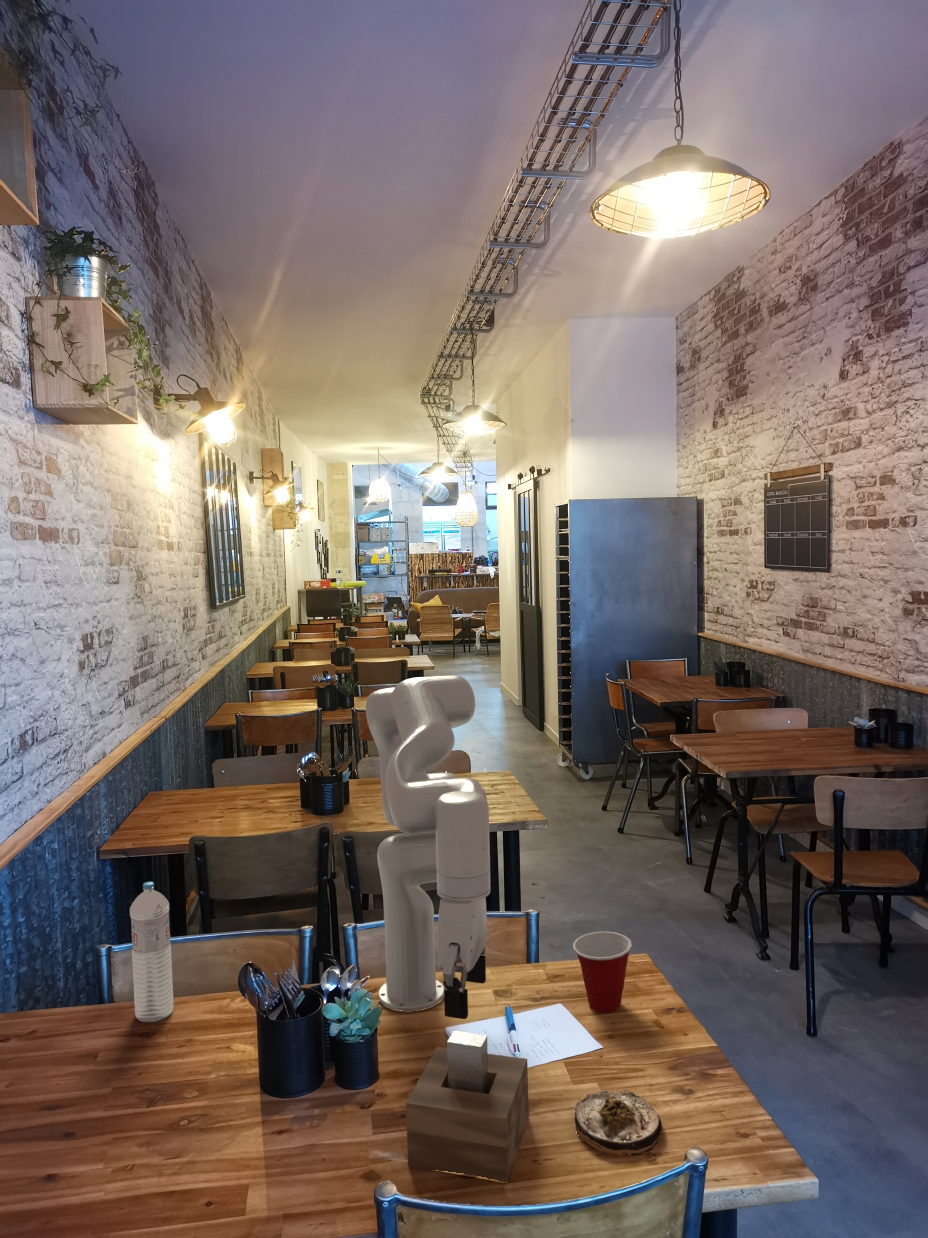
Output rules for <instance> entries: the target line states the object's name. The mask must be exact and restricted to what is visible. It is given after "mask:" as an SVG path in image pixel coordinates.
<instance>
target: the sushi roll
mask: <svg viewBox="0 0 928 1238" xmlns="http://www.w3.org/2000/svg"><path fill="white" fill-rule="evenodd" d="M578 1100H579V1101H577V1102H576V1107H575V1109H574V1110H575V1112H574V1114H573V1115H574V1124H575V1128H576V1129H575V1132H576V1131H577V1135H579V1137H580V1138H581V1139H580V1140H582V1139H583V1141H584V1142H585V1141H586V1142H587V1143H586V1142H585V1143H586V1144H588V1145H589V1146H591V1147H592V1148H593V1149H594V1150H597V1149H598V1151H600V1150H602V1151H601V1152H603V1151H604V1153H606V1154H609V1153H611V1154H610V1155H614V1154H617V1155H616V1156H623V1155H622V1154H625V1153H626V1154H630V1155H632V1156H631V1157H634V1156H633V1155H636V1156H640V1155H643V1153H647V1152H650V1151H652V1149H653V1148H654V1146H656V1144H657V1143H658V1142H659V1140H660V1138H661V1137H660V1136H661V1134H662V1129H663V1123H662V1120H661V1118H660V1115H658V1113H657V1112H656V1110H655V1109H654V1107H652V1106H651V1105H650V1104H649V1103H648V1102H647V1101H646V1100H645V1099H644V1098H643V1097H642V1096H640V1095H636V1094H635V1093H634V1092H633V1091H628V1090H626V1089H625V1090H623V1091H619V1092H618V1090H617V1089H616V1092H614V1091H612V1092H611V1091H608V1090H607V1091H606V1090H603V1091H597V1092H592V1093H587V1094H586V1097H584V1098H583V1099H578ZM577 1135H576V1136H577ZM579 1137H578V1138H579ZM626 1154H625V1155H626ZM636 1156H635V1157H636Z"/></svg>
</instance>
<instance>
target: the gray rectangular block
mask: <svg viewBox="0 0 928 1238" xmlns="http://www.w3.org/2000/svg"><path fill="white" fill-rule="evenodd" d="M446 1048H447V1054H448V1088H450V1089H457V1090H464V1091H471V1092H477V1093H484V1094H489V1086H488V1054H489V1053H488V1052H489V1051H488V1050H489V1049H488V1035H486V1034H480V1033H479V1034H477V1033H472V1032H465V1031H461V1030H460V1031H459V1030H453V1031H452V1033H451V1035H450V1036H449V1038H448V1039H447V1042H446Z"/></svg>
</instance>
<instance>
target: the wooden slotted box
mask: <svg viewBox="0 0 928 1238" xmlns="http://www.w3.org/2000/svg"><path fill="white" fill-rule="evenodd" d="M528 1065H529V1064H528V1058H522V1057H517V1056H509V1055H500V1054H495V1053H488V1086H489V1094H484V1093H477V1092H471V1091H464V1090H457V1089H450V1088H448V1054H447V1047H442V1046H437V1047H436V1048H435V1050H434V1051H433V1054H432V1055H431V1058H430V1059H429V1060H428V1063H427V1064H426V1067H425V1068H424V1070H423V1072H422V1073H421V1075H420V1077H419V1079H418V1081H417V1082H416V1084H415V1086H414V1088H413V1089H412V1092H410V1095H409V1097H408V1099H407V1101H406V1102H405V1112H406V1115H405V1116H406V1143H407V1144H406V1147H407V1167H410V1168H414V1169H415V1168H416V1169H420V1170H427V1171H431V1170H439V1171H448V1172H456V1173H464V1174H468V1175H476V1176H481V1177H486V1178H488V1179H495V1180H498V1181H501V1182H505V1183H506V1182H508V1180H509V1181H510V1179H509V1177H510V1178H511V1175H512V1172H513V1169H512V1168H514V1165H515V1163H516V1160H517V1157H518V1152H519V1150H520V1146H521V1143H522V1140H523V1138H524V1135H525V1131H526V1127H527V1125H528V1123H529V1122H528V1121H529V1119H530V1118H529V1117H530V1115H529V1111H530V1110H529V1109H530V1108H529V1106H530V1105H529V1076H528V1075H529V1072H528V1069H529V1067H528ZM514 1162H515V1163H514ZM511 1171H512V1172H511ZM510 1174H511V1175H510ZM508 1183H509V1182H508Z"/></svg>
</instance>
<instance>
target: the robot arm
mask: <svg viewBox="0 0 928 1238" xmlns="http://www.w3.org/2000/svg"><path fill="white" fill-rule="evenodd" d="M475 711H476V698H475V692H474V690H473V687H472V686H471V684H470V682H469V681H468V680H467V679H466V678H465V677H463V676H461V675H455V674H454V675H452V674H451V675H433V676H419V677H412V678H407V679H404V680H402V681H400V682H399V683H397V685H395V686H394V687H387V688H382V689H378V690H375V691H373V692H371V693H370V694H369V695H368V696H367V698H366V700H365V715H366V721H367V726H368V729H369V731H370V734H371V736H372V738H373V741H374V744H375V746H376V748H377V749H376V750H377V753H378V757H379V769H380V770H379V771H380V773H379V774H380V787H381V789H380V791H381V805H382V812H383V815H384V819H385V821H386V822H387V824H388V825H390V826H392V827H396V829H398V831H399V832H401V833H398V834H394V835H390V836H388V837H386V838H385V839H383V840H382V841H381V842H380V844H379V846H378V848H377V855H376V856H377V857H376V859H377V866H378V871H379V876H380V877H379V878H380V882H381V889H382V900H383V919H384V920H383V921H384V922H383V924H384V925H383V926H384V950H385V954H384V955H385V956H384V957H385V978H386V979H385V981H386V982H385V983H383V985H382V986H380V988H379V990H378V1001H379V1000H380V1001H379V1003H380V1002H381V1003H383V1004H384V1005H385V1006H386V1007H388V1008H391V1009H397V1010H403V1011H415V1010H421V1009H425V1008H429V1007H431V1006H433V1005H435V1004H437V1003H438V1002H439V1001H440V1000H441V999H442V998H443V999H444V1002H443V1005H444V1006H443V1008H444V1016H445V1017H446V1018H451V1019H453V1018H454V1019H461V1020H467V1019H468V1016H469V998H468V996H469V995H468V989H466V984H467V983H477V984H485V983H486V981H487V973H486V972H487V968H486V967H487V965H486V963H487V962H486V955H485V954H486V944H487V935H488V934H487V932H488V921H487V920H488V919H487V918H488V916H487V901H486V897H488V896H489V895H490V894H491V854H490V853H491V852H490V811H489V809H490V808H489V802H488V798H487V792H486V790H485V787H483V786H482V785H481V783H480V782H479V781H478V780H477V779H475V778H472V777H458V776H457V775H456V774H455V773H452V772H445V771H444V772H434V773H426V771H427V770H428V769H431V768H432V767H434V766H436V765H438V764H440V763H441V762H442V761H444V760H445V759H446V758H447V757H448V756H449V755H450V754H451V752H452V751H453V748H454V745H455V734H454V732H453V729H456V728H458V727H460V726H463V725H465V724H468V723H469V722H470V721H471V720H472V719H473V717H474V714H475ZM428 883H436V892H437V893H436V895H438V897H440V902H439V910H438V920H437V951H436V946H435V909H434V905H433V904H434V903H433V901H432V899H431V898H430V896H429V895H428V894H427V892H426V891H425V890H424V889H423V888H421V885H423V884H424V885H425V884H428ZM436 952H437V953H436ZM436 954H437V956H436ZM436 957H437V958H436ZM458 964H462V965H463V966H462V965H461V966H460V965H458ZM436 965H437V968H438V969H439V970H442V977H443V980H442V982H440V980H438V979H437V976H436V972H437V971H436ZM456 973H458V974H459V973H460V979H459V978H458V977H456ZM443 996H444V997H443ZM443 999H442V1000H443ZM442 1000H441V1001H442ZM381 1003H380V1004H381ZM438 1004H439V1003H438ZM438 1004H437V1005H438ZM385 1006H384V1007H385ZM435 1006H436V1005H435ZM386 1007H385V1008H386ZM388 1008H387V1009H388ZM429 1009H430V1008H429Z"/></svg>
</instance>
